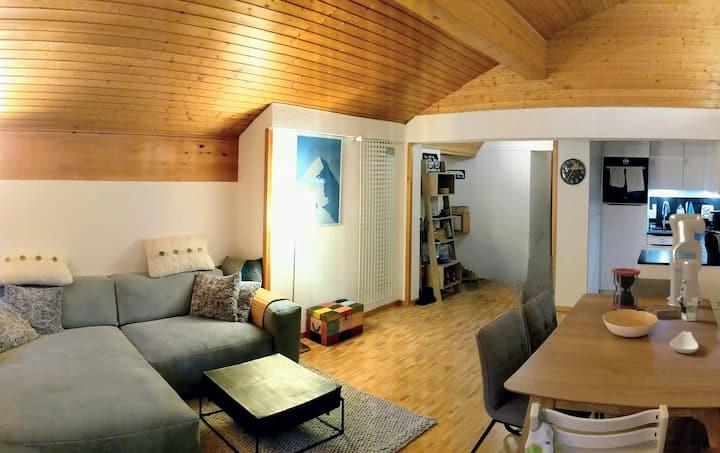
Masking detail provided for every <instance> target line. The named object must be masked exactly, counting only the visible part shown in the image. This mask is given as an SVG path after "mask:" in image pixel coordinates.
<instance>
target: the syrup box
mask: <svg viewBox="0 0 720 453" xmlns="http://www.w3.org/2000/svg"><path fill="white" fill-rule="evenodd" d="M697 299H698V298H697V297H693V298H692V302H686V306H685V307H686V313H682V312H681V314H680V315H681V316H680V318H681V319H682V321H686V322H697V320H698V319H697V317H698V314H697V313H698V309H697ZM683 304H684V303H683Z"/></svg>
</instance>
